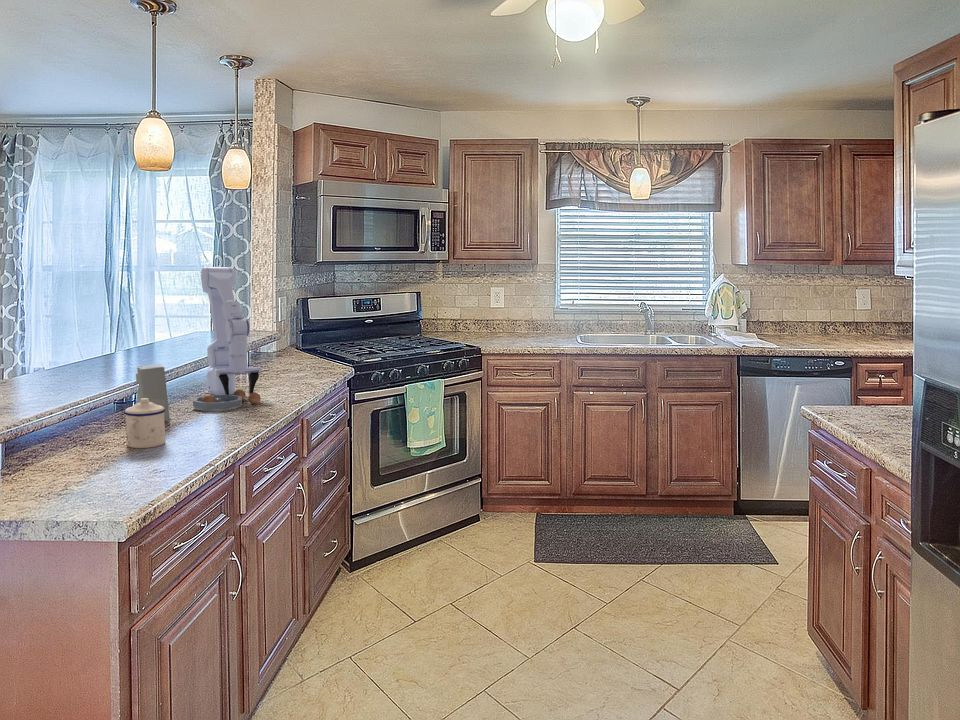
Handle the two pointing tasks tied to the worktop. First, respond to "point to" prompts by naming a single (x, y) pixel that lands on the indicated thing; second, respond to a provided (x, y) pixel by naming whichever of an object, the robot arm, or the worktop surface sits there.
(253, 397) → the bead
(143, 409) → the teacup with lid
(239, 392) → the bead
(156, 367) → the skincare box
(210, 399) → the bead seated
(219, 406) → the groove tray
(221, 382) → the robot arm
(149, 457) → the worktop surface
